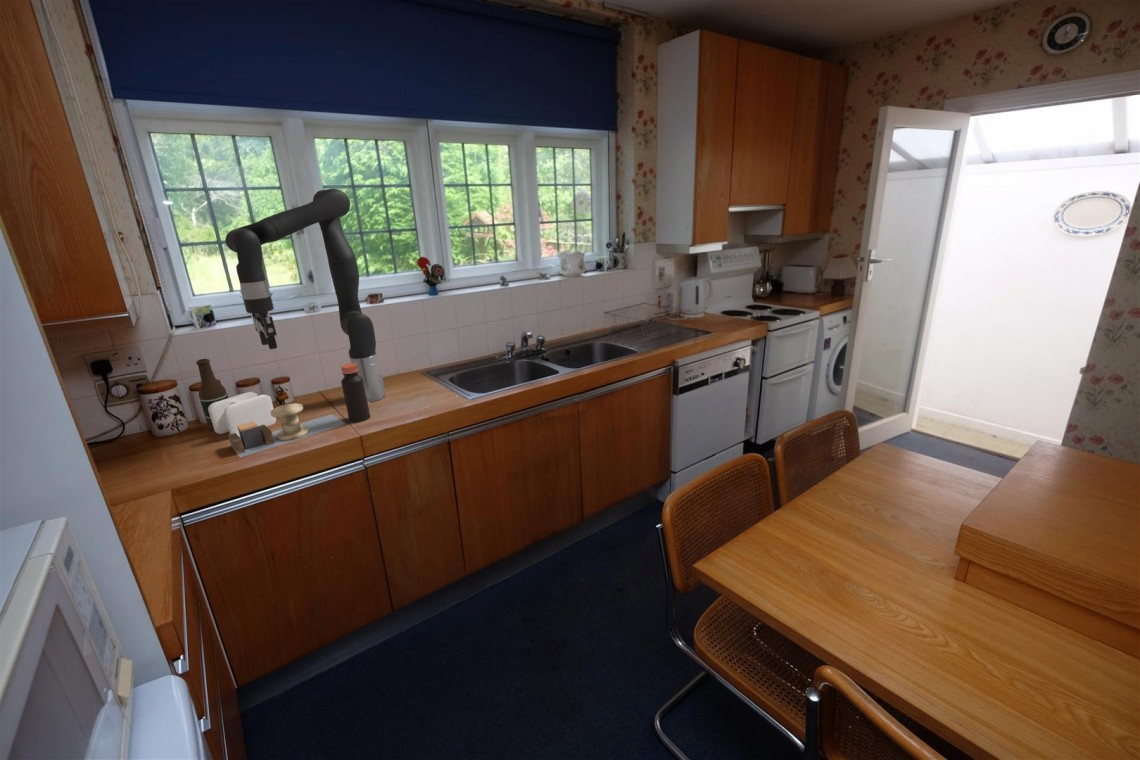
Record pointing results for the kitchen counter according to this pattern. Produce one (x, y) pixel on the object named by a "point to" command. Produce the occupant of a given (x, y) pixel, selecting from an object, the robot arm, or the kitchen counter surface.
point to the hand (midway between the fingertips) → (269, 346)
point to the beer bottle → (209, 389)
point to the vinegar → (354, 394)
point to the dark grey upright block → (250, 435)
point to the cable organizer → (241, 412)
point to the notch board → (238, 445)
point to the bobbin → (289, 422)
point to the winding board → (313, 428)
